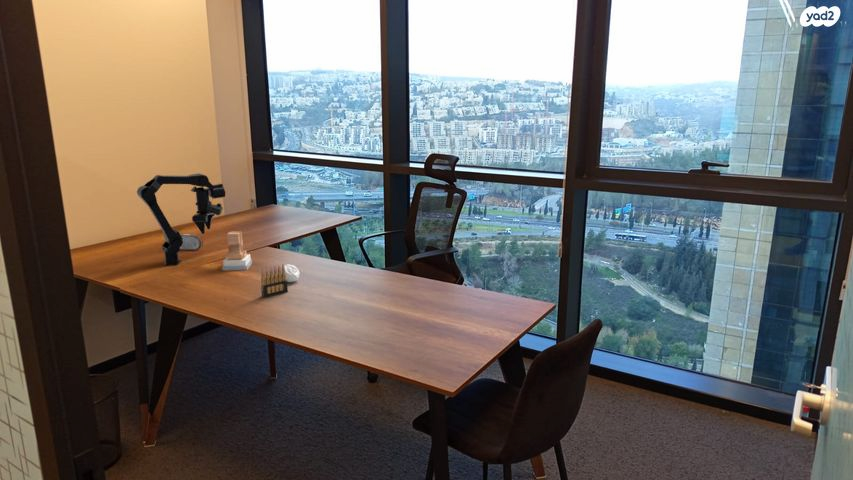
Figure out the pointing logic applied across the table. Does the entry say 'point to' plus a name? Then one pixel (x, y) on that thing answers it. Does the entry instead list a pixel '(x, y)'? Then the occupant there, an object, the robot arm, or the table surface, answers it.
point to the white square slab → (237, 261)
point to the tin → (191, 242)
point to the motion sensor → (291, 273)
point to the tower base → (237, 267)
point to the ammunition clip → (273, 282)
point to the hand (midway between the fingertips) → (206, 231)
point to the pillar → (235, 246)
